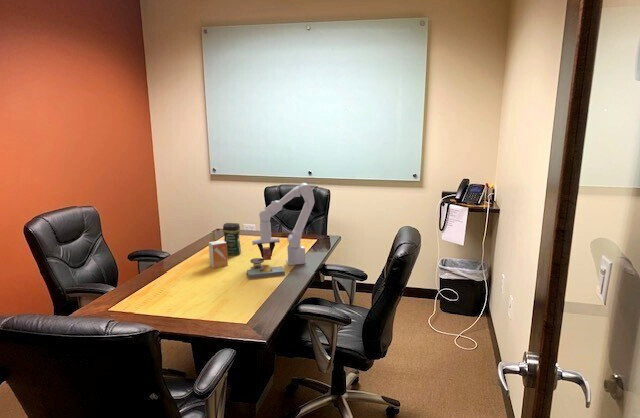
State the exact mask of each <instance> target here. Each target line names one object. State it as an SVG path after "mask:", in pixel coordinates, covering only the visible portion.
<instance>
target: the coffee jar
mask: <svg viewBox="0 0 640 418" xmlns="http://www.w3.org/2000/svg"><path fill="white" fill-rule="evenodd" d="M240 231H241V227H240V223H236V222H226V223H224V224H223V226H222V232H223V236H224V240H223V241H225V242H227V256H238V255H241V254H242V247H241V242H240V241H241V240H240V239H241V238H240Z"/></svg>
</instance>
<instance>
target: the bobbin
mask: <svg viewBox="0 0 640 418" xmlns="http://www.w3.org/2000/svg"><path fill="white" fill-rule="evenodd" d="M264 262H265V260H264V259H263V258H262V257H256V258H254V257H253V258H252V259H251V258H250V263H251V264H253V265H252V266H250V269H259V270H260V272H262V271H264V270H265V266H262V263H264Z"/></svg>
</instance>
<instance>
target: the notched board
mask: <svg viewBox="0 0 640 418" xmlns="http://www.w3.org/2000/svg"><path fill="white" fill-rule="evenodd" d="M246 275H247V277H248V280H251V279H261V278H269V277H280V276H285V275H286V270H285V269H284V267H283V266H282V265H281V266H270V271H263V272H262V271H260V270H259V269H251V268H250V269H247V270H246Z"/></svg>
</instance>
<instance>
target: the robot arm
mask: <svg viewBox="0 0 640 418" xmlns="http://www.w3.org/2000/svg"><path fill="white" fill-rule="evenodd" d="M301 196H302V198H303V201H304V203H303V206H302V209H301V210H300V214H299V216H298V218H297V221H296V224H295V225H294V228H293V229H292V231H291V233H290V234H288V236H287V241H288V245H287V259H286V260H285V261H286V263H287V265H289V266H292V265H293V266H294V265H303V264H304V265H305V264H306V263H307V262H306V248H305V246H303V245H301V244H302V243H301V241H302V240H301V239H302V236H303V233H304V232H303V231H304V230H305V227H306V225H307V222H308V219H309V217H310V215H311V213H312V210H313V209H314V205H315V196H314V191H313V189H312V187H311V186H310V185H309V184H308V183H307V182H300V183H299V185H297V186H295V187H293V188H292V189H291V190H290V191H289V192H287V193H286V194H285V195H284V196H283V197H281V199H279V200H272V201H271V202H270V204H269V205H267V207H266V206H265V207H264V208H263V209H262V210H260V211H259V214H258V215H259V219H260V220H259V231H260V232H259V233H260V235H259V236H260V239H255V240H251V243H252V246H255V245H257V247H258V249H259V251H260V255H261V258H262V257H263V248H264V246H263V245H264V244H269V247H270V249H271V257H272V256H273V252H274V249H275V247H276V244H279V243H280V241H281V240H280V238H279V237H278V238H276V237H275V238H273V237H272V227H271V226H272V223H271V218H272V217H274V216H275V215H276V214H278V212H280V211H281V210H283V206H284V205H286V203H288V202H290V201H291V200H292V199H294V198H297V197H299V198H300V197H301Z"/></svg>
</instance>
